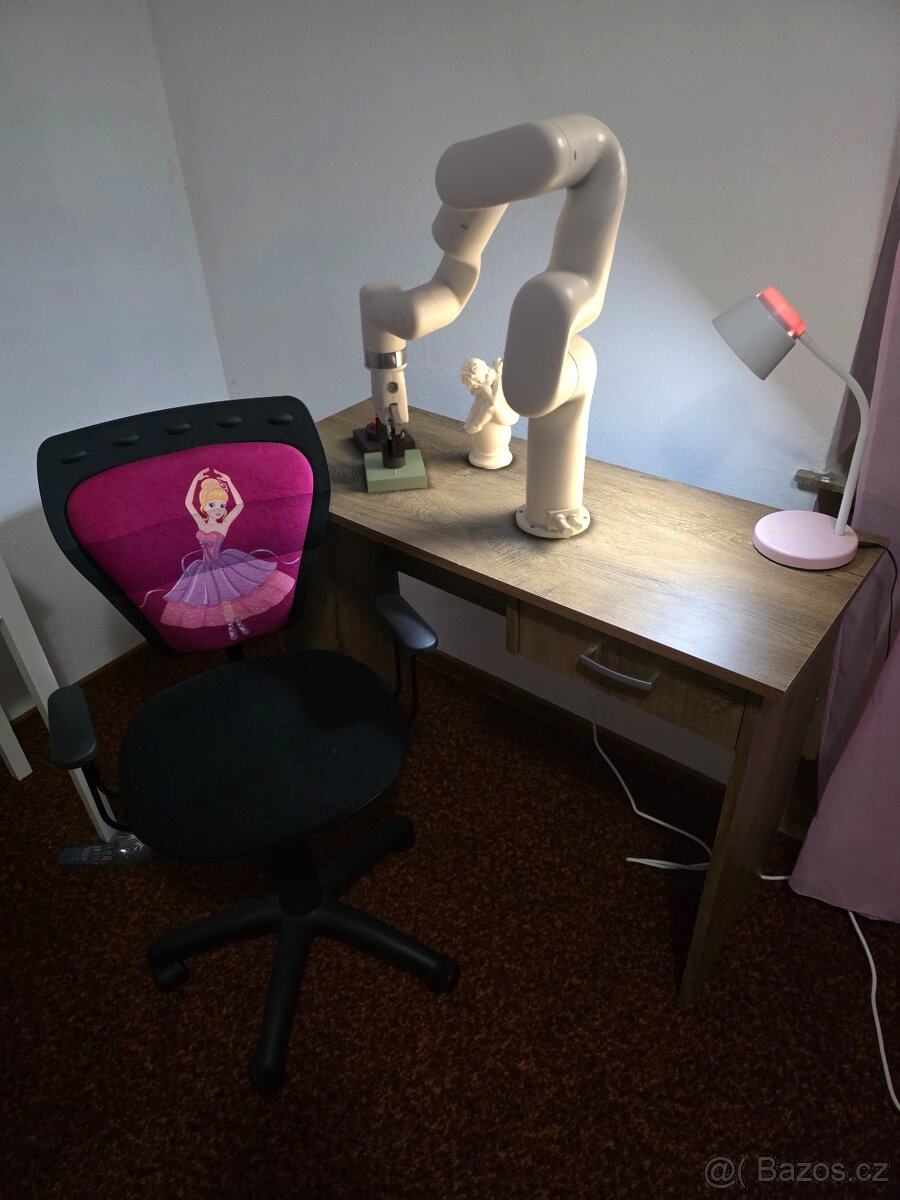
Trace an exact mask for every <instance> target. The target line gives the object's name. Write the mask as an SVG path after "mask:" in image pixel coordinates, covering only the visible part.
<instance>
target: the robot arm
mask: <svg viewBox="0 0 900 1200" xmlns="http://www.w3.org/2000/svg"><path fill="white" fill-rule="evenodd" d="M434 184H435V190H436V192H437V195H438V197H439V199H440V200H441V202H442V204H441V206H440V207H439V210H438V212H437V214H436V216H435V218H434V220H433V222H432V225H431V236H432V238H433V240H434V242H435V244H436V245H437V246H438V247H439V248H440V249H441V250H442V251H443V255H442V257H441V258H442V259H441V260H440V263H439V264H438V267H437V269H436V270H435V271H434V273H433V275H432V277H431V279H430V280H429V281H428V282H425V283H423V284H419V285H417V286H415V287H413V288H410V289H406V290H403V287H402V286H401V285H400V284H399V283H397V282H395V281H390V280H374V281H370V282H366V283H364V284H363V285H362V286H361V288H360V289H359V293H358V295H359V297H358V298H359V299H358V300H359V311H360V313H359V314H360V322H361V337H362V352H363V364H364V365H363V366H364V368H365V369H366V370H368V371H370V372H369V373H370V388H371V398H372V400H371V401H372V406H373V410H374V413H375V417H374V419H376V433H377V437H385V436H388V438H386V441H387V456H388V458H389V459H393V458H401V457H404V456H405V444H404V433H403V428H404V427H403V423H404V424H407V423H408V422H409V407H408V398H407V388H406V380H405V373H404V369H405V368H406V367H407V365H408V360H407V359H408V358H407V341H416V340H418V339H421V338H423V337H425V336H428V335H429V334H432V333H433V332H435V331H438V330H440V329H442V328H444V327H446V326H448V325H450V324H451V323H453V321H455V320H456V319H457V318H458V316H459V315H460V314H461V313H462V311H463V309H464V308H465V306H466V304H467V302H468V301H469V299H470V297H471V296H472V294H473V292H474V290H475V288H476V286H477V283H478V281H479V278H480V274H481V266H482V258H481V257H482V256H481V255H482V254H483V251H484V250H485V247H486V246H487V244H488V242H489V240H490V238H491V236H492V235H493V233H494V231H495V229H496V228H497V226H498V224H499V222H500V221H501V218H502V216H503V215H504V214H505V211H506V210H507V208H508V206H509V205H510V204H511V203H515V202H520V201H524V200H529V199H533V198H539V197H542V196H546V195H550V194H552V193H554V192H558V191H561V190H564V189H566V196H565V200H564V203H563V205H562V208H561V210H560V213H559V216H558V218H557V221H556V225H555V230H554V236H553V244H552V248H551V254H550V259H549V262H548V265H547V267H546V269H545V270H544V271H542V272H540V273H538V274H536V275H534V276H532V277H531V278H530V279H528V280H526V281H525V283H523V284H522V286H521V287H520V288H519V289H518V291H517V292H516V295H515V297H514V298H513V299H514V300H513V302H512V305H511V307H510V312H509V318H508V323H507V331H506V338H505V345H504V352H503V358H502V360H503V365H502V374H501V385H502V392H503V395H504V398H505V400H506V402H507V404H508V405H509V407H510V408H511V409H512V410H513V411H514V412H515V413H517V414H518V415H519V417H520V416H521V417H523V418H526V419H527V429H526V430H527V433H526V461H525V462H526V467H525V468H526V469H525V502H524V503H523V504H522V505H520V506H519V508H518V509H517V510H516V513H515V522H516V524H517V526H518V527H519V528H520V529H521V530H523V531H524V532H526V533H528V534H530V535H533V536H535V537H540V538H547V539H563V538H564V539H569V538H571V537H574V536H576V535H578V534H580V533H582V532H584V531H585V530H586V529H587V528H588V527H589V525H590V520H591V518H590V517H591V515H590V512H589V511H588V509H587V508H586V507H584V506H583V505H582V502H583V491H584V490H583V489H584V476H585V460H586V448H587V437H588V424H589V415H590V408H591V402H592V397H593V392H594V388H595V383H596V378H597V367H598V366H597V358H596V354H595V351H594V348H593V347H592V345H591V344H590V342H589V341H588V340H587V339H585V338H584V337H583V336H581V334H579V332H581V331H583V330H585V329H586V328H588V327H589V326H590V325H592V324H593V323H594V322H595V321H596V320H597V319H598V318H599V316H600V314H601V311H602V310H603V306H604V303H605V301H604V300H605V296H606V291H607V286H608V283H609V277H610V273H611V268H612V263H613V258H614V253H615V246H616V241H617V237H618V233H619V232H618V231H619V228H620V223H621V218H622V214H623V210H624V206H625V201H626V195H627V189H628V188H627V187H628V167H627V161H626V157H625V153H624V150H623V148H622V146H621V143H620V142H619V139H618V138H617V136H616V135H615V134H614V132H613V131H612V130H611V129H610V128H609V127H608V126H607V125H606V124H605V123H604V122H603V121H601V120H599V118H596V117H594V116H591V115H589V114H584V113H564V114H559V115H554V116H551V117H544V118H539V119H534V120H529V121H526V122H522V123H520V124H516V125H513V126H509V127H507V128H504V129H500V130H496V131H492V132H490V133H487V134H484V135H481V136H477V137H474V138H470V139H465V140H459V141H457V142H454V143H453V144H451V145H449V146H448V148H447V149H445V151H443V153H442V154H441V155H440V158H439V160H438V162H437V165H436V167H435V174H434ZM393 426H394V428H393ZM402 427H403V428H402Z"/></svg>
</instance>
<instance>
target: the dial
mask: <svg viewBox="0 0 900 1200" xmlns="http://www.w3.org/2000/svg"><path fill="white" fill-rule="evenodd" d="M386 438H388V436H385V437H383V438H382V439H381V450H382V462H383V466H384V467H385V468H388V469H398V468H401V467H403V466H405V464H406V460H405V456H404V457H401V458H393V459H389V458H388V456H387V441H386Z"/></svg>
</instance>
